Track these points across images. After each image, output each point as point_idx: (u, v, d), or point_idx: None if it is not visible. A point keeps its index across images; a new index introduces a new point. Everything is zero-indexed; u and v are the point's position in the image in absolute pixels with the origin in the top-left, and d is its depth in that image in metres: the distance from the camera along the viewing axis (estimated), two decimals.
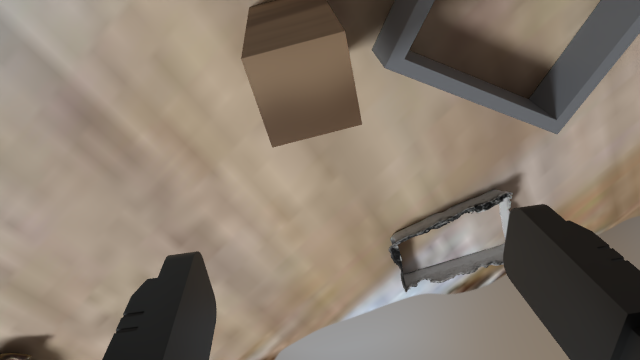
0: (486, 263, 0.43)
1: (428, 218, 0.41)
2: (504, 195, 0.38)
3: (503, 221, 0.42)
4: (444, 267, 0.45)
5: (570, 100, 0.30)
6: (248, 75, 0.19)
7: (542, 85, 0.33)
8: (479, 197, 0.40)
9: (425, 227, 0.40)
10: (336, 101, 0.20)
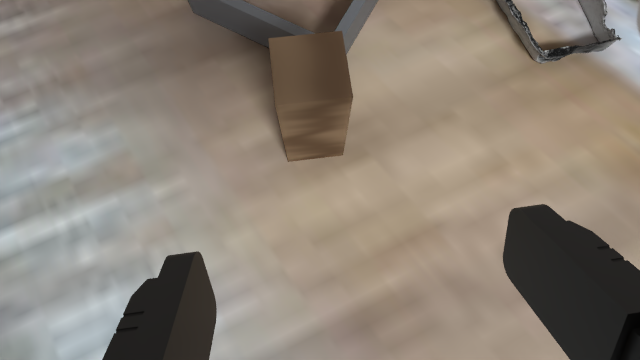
0: None
1: (514, 28, 0.39)
2: None
3: None
4: (588, 6, 0.39)
5: None
6: (288, 103, 0.25)
7: None
8: None
9: (521, 27, 0.38)
10: (319, 46, 0.26)
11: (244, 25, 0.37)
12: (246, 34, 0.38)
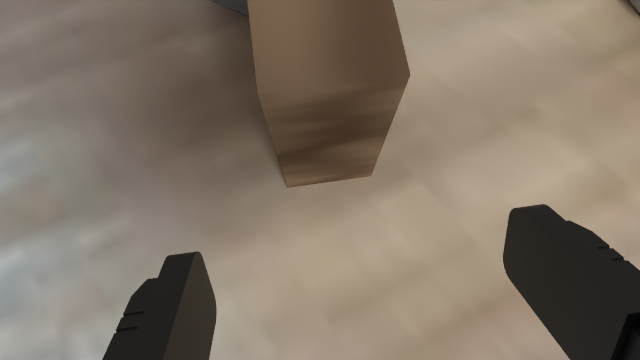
0: None
1: None
2: None
3: None
4: None
5: None
6: (283, 89, 0.13)
7: None
8: None
9: None
10: None
11: None
12: (223, 0, 0.26)
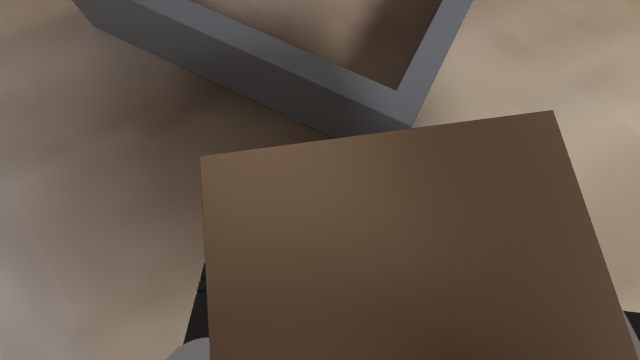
0: None
1: None
2: None
3: None
4: None
5: None
6: None
7: None
8: None
9: None
10: (456, 198, 0.05)
11: (193, 53, 0.16)
12: (201, 71, 0.18)
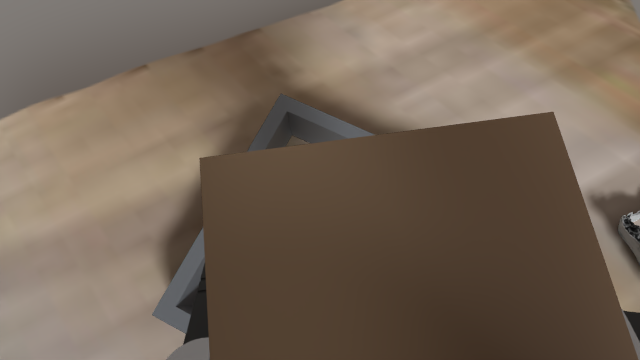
0: None
1: None
2: (627, 224, 0.26)
3: None
4: None
5: None
6: None
7: None
8: (634, 251, 0.27)
9: None
10: (456, 200, 0.05)
11: None
12: None
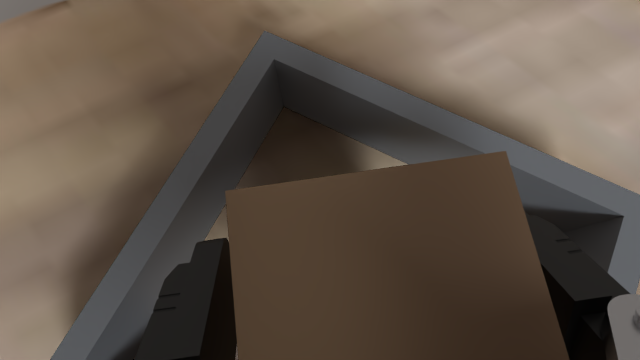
0: None
1: None
2: None
3: None
4: None
5: (575, 195, 0.14)
6: None
7: None
8: None
9: None
10: (428, 223, 0.07)
11: None
12: None
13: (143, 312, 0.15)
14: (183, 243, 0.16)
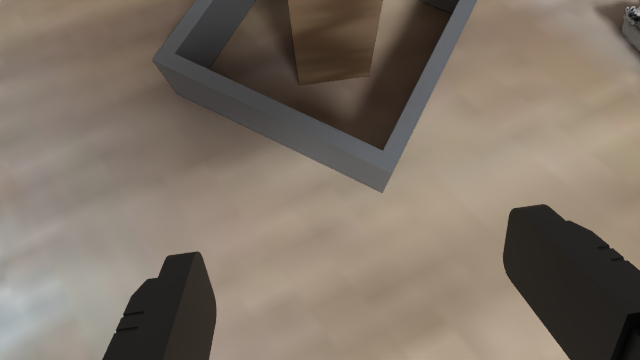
0: None
1: None
2: (631, 16, 0.27)
3: None
4: None
5: None
6: None
7: (437, 3, 0.29)
8: (639, 48, 0.28)
9: None
10: None
11: (250, 118, 0.25)
12: (253, 127, 0.26)
13: (212, 38, 0.27)
14: (233, 5, 0.27)
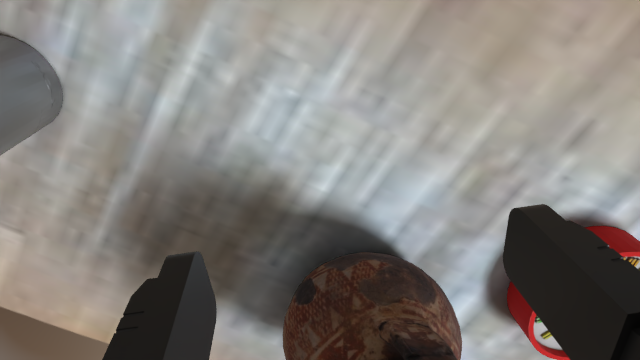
0: None
1: None
2: None
3: None
4: None
5: None
6: None
7: None
8: None
9: None
10: None
11: None
12: None
13: None
14: None
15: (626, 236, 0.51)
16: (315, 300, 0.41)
